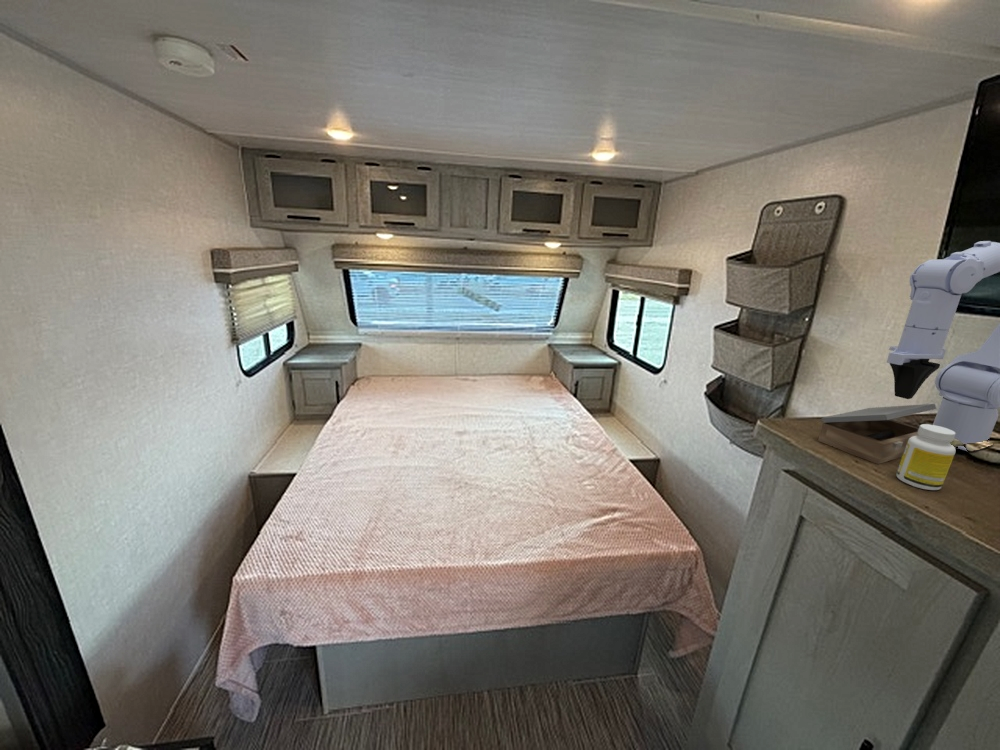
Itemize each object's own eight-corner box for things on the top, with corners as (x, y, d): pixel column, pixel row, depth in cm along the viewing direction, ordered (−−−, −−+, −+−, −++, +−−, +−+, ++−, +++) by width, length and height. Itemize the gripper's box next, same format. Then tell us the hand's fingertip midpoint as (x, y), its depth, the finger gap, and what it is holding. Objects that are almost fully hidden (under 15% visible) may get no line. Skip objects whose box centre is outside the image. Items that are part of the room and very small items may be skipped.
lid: (870, 412, 86) (869, 407, 86) (936, 408, 76) (934, 403, 76) (822, 422, 80) (821, 417, 80) (887, 420, 70) (885, 414, 70)
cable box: (864, 429, 87) (869, 413, 86) (928, 451, 77) (935, 432, 76) (818, 440, 81) (823, 422, 80) (880, 465, 72) (887, 445, 71)
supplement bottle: (950, 493, 63) (973, 437, 61) (911, 489, 64) (931, 434, 62) (923, 475, 68) (943, 423, 66) (887, 472, 70) (904, 420, 67)
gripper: (919, 322, 79) (898, 387, 83) (876, 325, 73) (856, 394, 77) (970, 328, 72) (944, 398, 76) (926, 332, 67) (901, 407, 71)
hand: (903, 397), depth 76 cm, fingers closed
